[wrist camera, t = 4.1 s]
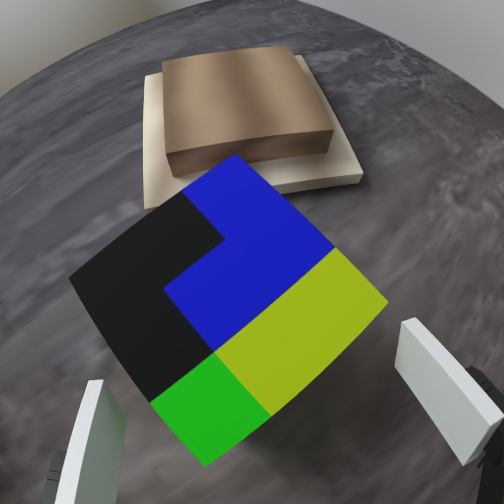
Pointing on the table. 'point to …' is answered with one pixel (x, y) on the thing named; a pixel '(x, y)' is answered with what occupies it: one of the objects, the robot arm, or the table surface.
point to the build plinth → (268, 170)
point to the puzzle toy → (224, 305)
